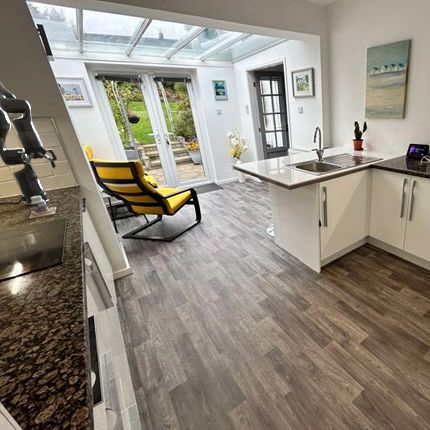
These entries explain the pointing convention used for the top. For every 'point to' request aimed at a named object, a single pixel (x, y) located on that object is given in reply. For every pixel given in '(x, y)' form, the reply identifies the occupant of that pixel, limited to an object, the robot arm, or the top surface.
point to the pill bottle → (39, 204)
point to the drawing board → (35, 215)
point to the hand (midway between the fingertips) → (43, 169)
